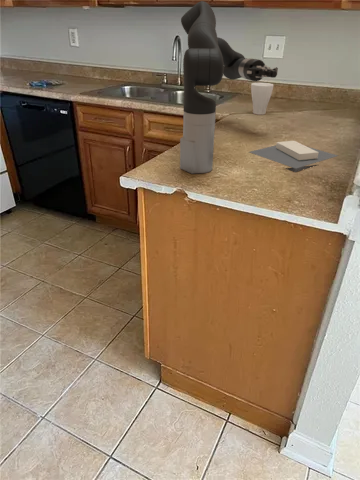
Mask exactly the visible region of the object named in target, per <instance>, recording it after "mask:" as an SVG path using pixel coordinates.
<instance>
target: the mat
mask: <svg viewBox="0 0 360 480" xmlns="http://www.w3.org/2000/svg"><path fill="white" fill-rule="evenodd" d="M305 146H306V145H305ZM306 147H309V148H311V149H313V150H315V151H317V152H319V153H318V158H316V159H310V160H301V161H299V160H297V159H295V158H293V157H291V156H289V155H288V154H286V153H284V152H282V151H280V150H278V149H277V148H276V144H275V145H271V146H267V147H262V148H260V149H255V150H251V151H249V153H251V154H253V155H256V156H258V157H261V158H264V159H267V160H270V161H273V162H276V163H277V164H282V165H284V166H287V168H284V169H285V170H288V171H291V172H292V173H293V172H294V173H297V172H300V171H303V169H304V170H307V169H310V167H311V168H313V166H314V167H316V166H318V164H317V163H319V162H323V161H326V160H329V159H332V158H336V157H339V155H337V154H334V153H331V152H327V151H324V150H320V149H317V148H313V147H310V146H306Z"/></svg>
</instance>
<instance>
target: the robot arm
mask: <svg viewBox="0 0 360 480" xmlns="http://www.w3.org/2000/svg"><path fill="white" fill-rule="evenodd" d="M180 23H181V26H182V28H183V30H184V31H185V33H186V35H187V46H188V47H187V49H186V50H185V51H184V54H183V61H182V69H183V70H182V71H183V127H182V137H180V139H179V144H180V145H179V149H180V150H179V151H180V152H179V169H180V170H182V171H185V172H187V173H189V174H191V175H194V174H206V173H210V172H212V170H213V164H214V163H213V162H214V145H215V130H216V128H215V127H216V111H217V103H216V101H215V100H214V99H212V98H211V97H207V96H205V95H203V94H201V93H199V91H197V90H196V87H197V86H198V87H199V86H200V87H202V86H203V87H212V86H214V87H215V86H217V85H219V84H220V83H221V81H222V80H223V76H224V77H225V78H227V79H229V80H238V79H240V78H243V79H245V80H248V81H251V82H259V81H261V80H263V78H271V79H272V78H273V79H274V78H275V79H276V77H277V75H278V69H279V68H278V67H272V68H271V66H268V65H266V64H265V62H264V61H263V60H261V59H259V58H258V59H256V58H252V57H251V58H246V57H245V56H244V54H242V53H240V52H238V51H235V50H234V49H233V48H232V47H231V46H230V44H229V43H228V42H227V40H225V39H224V38H221V37H218V34H217V30H216V27H217V26H216V25H217V18H216V15H215V12H214V10H213V8H212V7H211V5H210V4H209V3H208V2H206V1H203V0H201V1H199V2H196V4H194V5H193V6H192V7H191V8H190V9H188V11H187V12H185V13H184V14H183V15H182V16H181V19H180Z"/></svg>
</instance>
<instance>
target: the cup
mask: <svg viewBox="0 0 360 480" xmlns="http://www.w3.org/2000/svg"><path fill="white" fill-rule="evenodd" d="M273 89H274V84H273V83H268V82H252V83H251V84H250V92H251V100H252V114H254V115H257V116H258V115H260V116H263V115H265V114H266V112H267V107H268V105H269V102H270V99H271V97H272V93H273Z"/></svg>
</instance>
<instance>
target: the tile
mask: <svg viewBox="0 0 360 480" xmlns="http://www.w3.org/2000/svg"><path fill="white" fill-rule="evenodd" d="M275 145H276V148H277V149H278V150H280V151H282V152H284V153H286V154H288V155H289V156H291V157H293V158H295V159H297V160H299V161H301V160H310V159H316V158H318V153H319V152H317V151H315V150H313V149H311V148H312V147H310V146H307V147H306V145H304V144H302V143H301V142H298V141H296V140H285V141H277V142H276V144H275ZM309 147H310V148H309Z"/></svg>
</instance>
